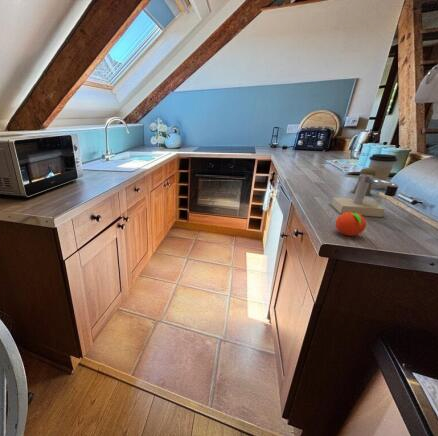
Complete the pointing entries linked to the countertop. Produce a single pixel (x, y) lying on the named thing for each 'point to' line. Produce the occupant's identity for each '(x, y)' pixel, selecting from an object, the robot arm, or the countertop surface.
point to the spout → (380, 184)
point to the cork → (368, 172)
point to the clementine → (350, 223)
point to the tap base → (358, 203)
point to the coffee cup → (381, 166)
